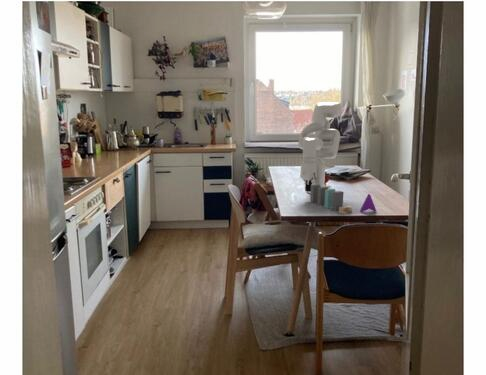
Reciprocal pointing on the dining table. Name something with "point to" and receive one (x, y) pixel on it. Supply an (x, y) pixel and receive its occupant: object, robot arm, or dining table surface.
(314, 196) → the tile
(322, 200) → the tile
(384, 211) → the dining table surface
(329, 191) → the teal tile
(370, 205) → the arrowhead
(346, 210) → the stop block
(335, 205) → the tile
